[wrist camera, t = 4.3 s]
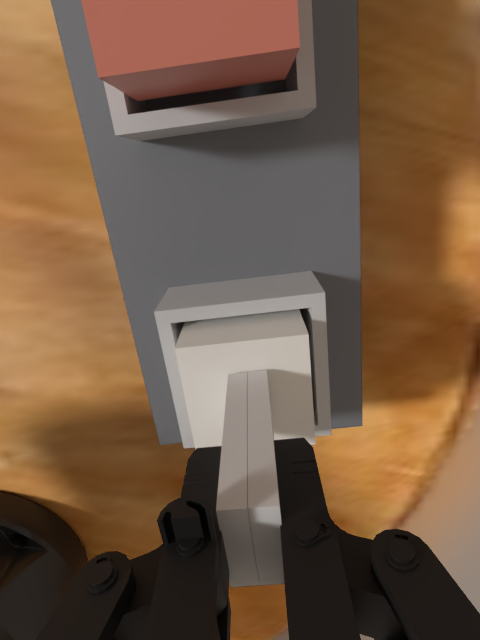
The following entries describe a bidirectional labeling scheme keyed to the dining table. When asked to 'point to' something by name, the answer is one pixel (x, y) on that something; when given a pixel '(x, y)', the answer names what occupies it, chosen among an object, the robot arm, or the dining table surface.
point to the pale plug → (247, 356)
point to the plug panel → (235, 207)
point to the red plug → (191, 44)
